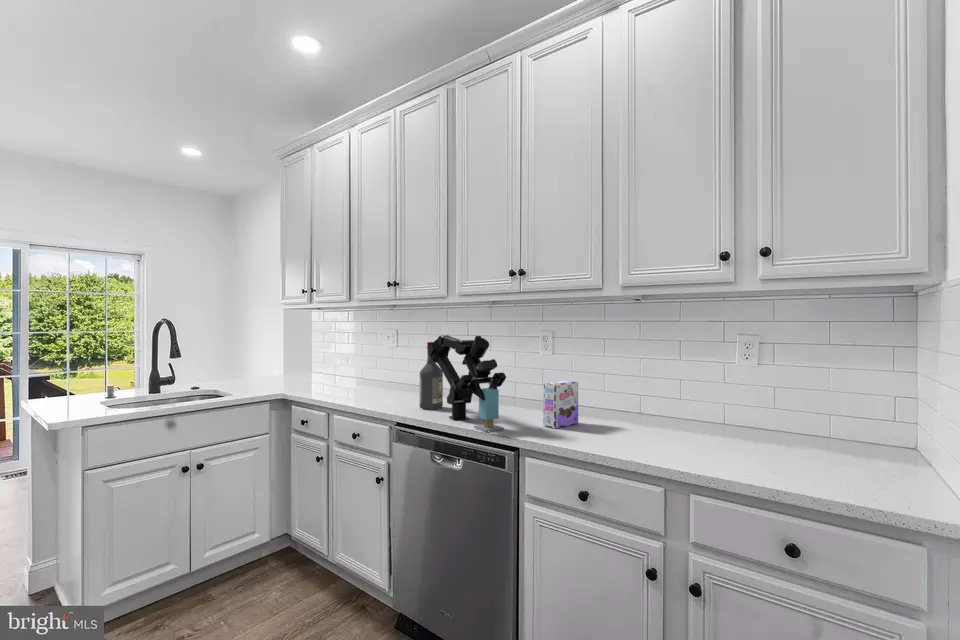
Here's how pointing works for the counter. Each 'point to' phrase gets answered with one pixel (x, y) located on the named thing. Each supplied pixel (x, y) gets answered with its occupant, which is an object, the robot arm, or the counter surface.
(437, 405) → the liquor
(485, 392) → the teal rectangular block
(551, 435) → the counter surface
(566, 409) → the candy box
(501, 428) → the post stand
